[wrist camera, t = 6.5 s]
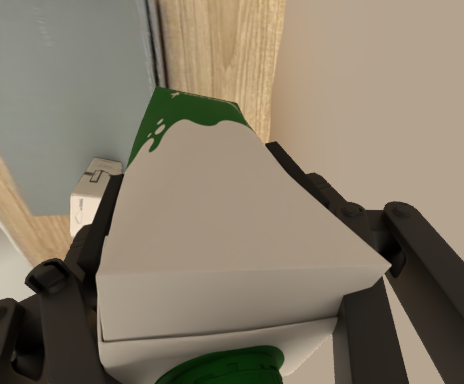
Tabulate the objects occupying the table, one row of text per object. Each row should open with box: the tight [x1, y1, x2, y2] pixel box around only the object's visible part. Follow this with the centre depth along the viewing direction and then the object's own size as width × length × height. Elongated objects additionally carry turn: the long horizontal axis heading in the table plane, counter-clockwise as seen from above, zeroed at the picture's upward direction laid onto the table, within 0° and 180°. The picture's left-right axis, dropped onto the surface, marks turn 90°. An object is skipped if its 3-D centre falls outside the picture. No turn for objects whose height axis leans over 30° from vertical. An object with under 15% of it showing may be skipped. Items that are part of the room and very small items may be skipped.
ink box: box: [70, 158, 122, 237], centre depth 39 cm, size 9×5×12 cm, turn 160°
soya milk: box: [96, 86, 391, 384], centre depth 14 cm, size 9×9×20 cm
